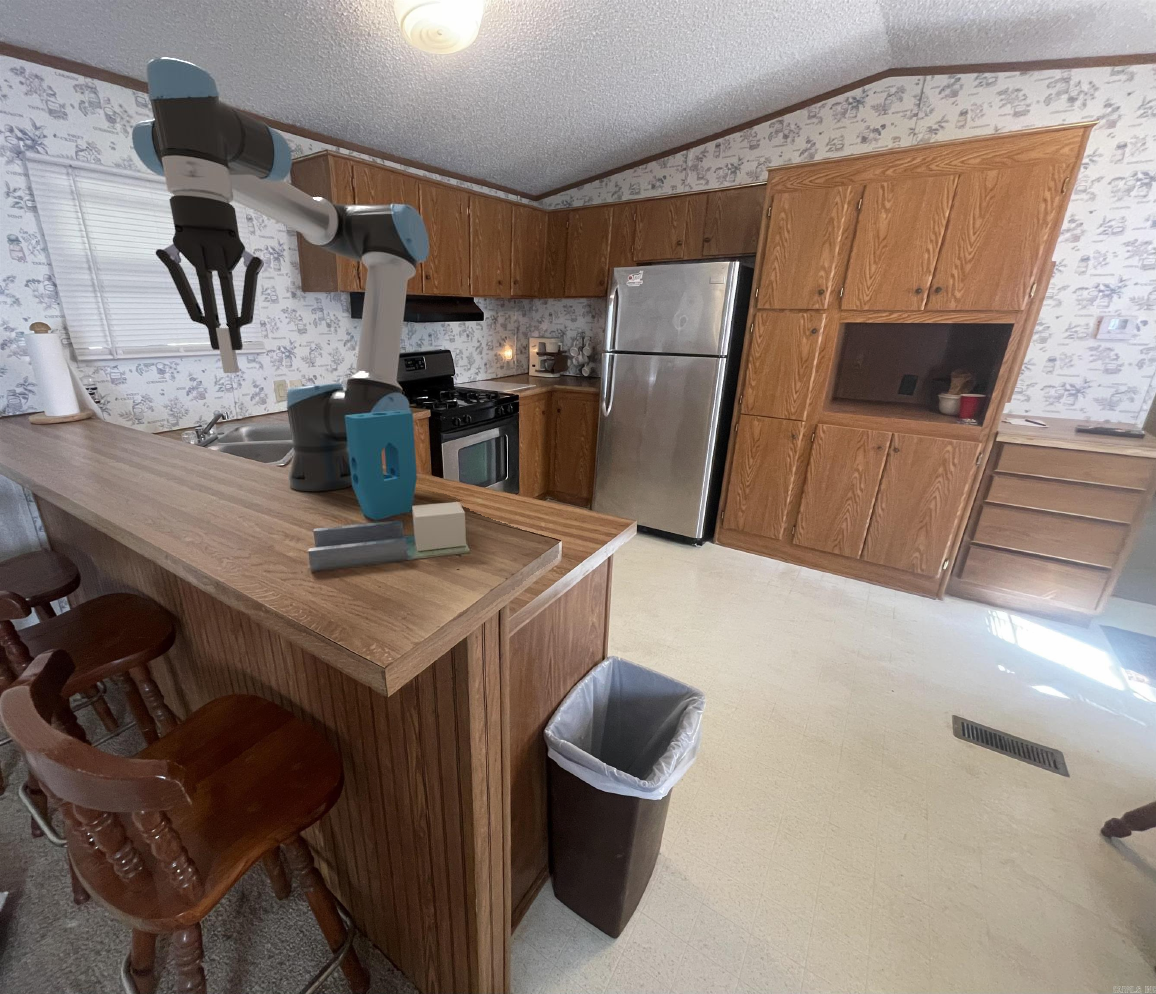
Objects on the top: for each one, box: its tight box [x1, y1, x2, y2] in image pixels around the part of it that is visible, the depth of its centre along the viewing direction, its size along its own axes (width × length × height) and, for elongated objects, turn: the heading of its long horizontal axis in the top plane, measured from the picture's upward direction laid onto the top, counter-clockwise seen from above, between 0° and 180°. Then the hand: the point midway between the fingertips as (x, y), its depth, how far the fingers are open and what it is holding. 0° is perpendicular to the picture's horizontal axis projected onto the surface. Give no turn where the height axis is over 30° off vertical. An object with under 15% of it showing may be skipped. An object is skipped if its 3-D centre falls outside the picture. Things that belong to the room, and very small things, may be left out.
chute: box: [307, 520, 471, 573], centre depth 85 cm, size 10×24×3 cm, turn 112°
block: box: [345, 410, 418, 521], centre depth 100 cm, size 12×5×20 cm, turn 141°
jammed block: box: [411, 501, 467, 551], centre depth 87 cm, size 6×8×6 cm
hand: (231, 372), depth 78 cm, fingers closed
